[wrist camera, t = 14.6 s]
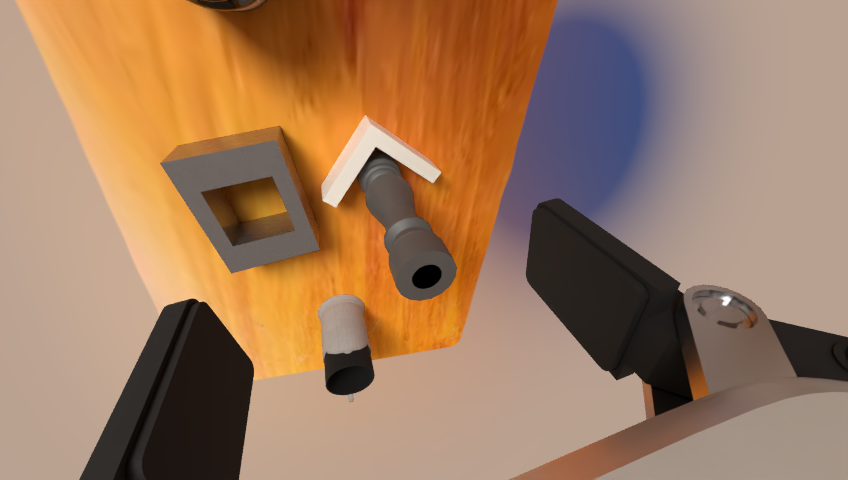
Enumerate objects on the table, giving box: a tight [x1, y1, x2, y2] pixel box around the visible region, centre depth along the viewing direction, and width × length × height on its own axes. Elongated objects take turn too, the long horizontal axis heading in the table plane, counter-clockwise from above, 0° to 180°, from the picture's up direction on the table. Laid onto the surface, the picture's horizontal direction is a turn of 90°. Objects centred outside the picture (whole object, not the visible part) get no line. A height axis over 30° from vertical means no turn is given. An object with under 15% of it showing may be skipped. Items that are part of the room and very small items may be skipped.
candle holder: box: [357, 150, 457, 301], centre depth 38 cm, size 6×6×25 cm
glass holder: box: [318, 295, 374, 402], centre depth 57 cm, size 9×14×15 cm, turn 175°
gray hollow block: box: [160, 126, 320, 273], centre depth 42 cm, size 16×12×6 cm
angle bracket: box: [321, 115, 441, 207], centre depth 44 cm, size 10×17×5 cm, turn 97°
